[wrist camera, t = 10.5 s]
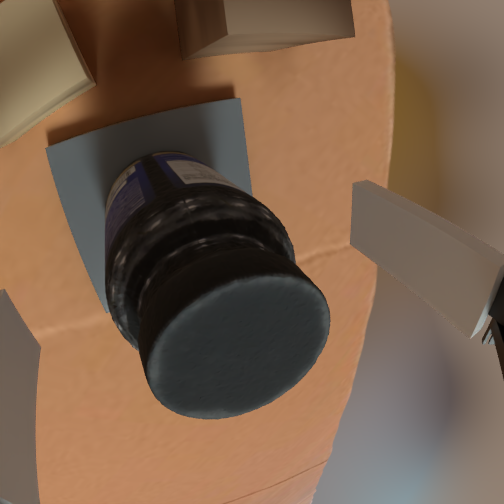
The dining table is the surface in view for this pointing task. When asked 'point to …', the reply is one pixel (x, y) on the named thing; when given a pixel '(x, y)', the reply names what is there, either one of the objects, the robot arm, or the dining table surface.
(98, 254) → the slate coaster
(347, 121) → the dining table surface
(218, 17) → the walnut block
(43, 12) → the oak block
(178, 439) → the dining table surface
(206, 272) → the pill bottle
